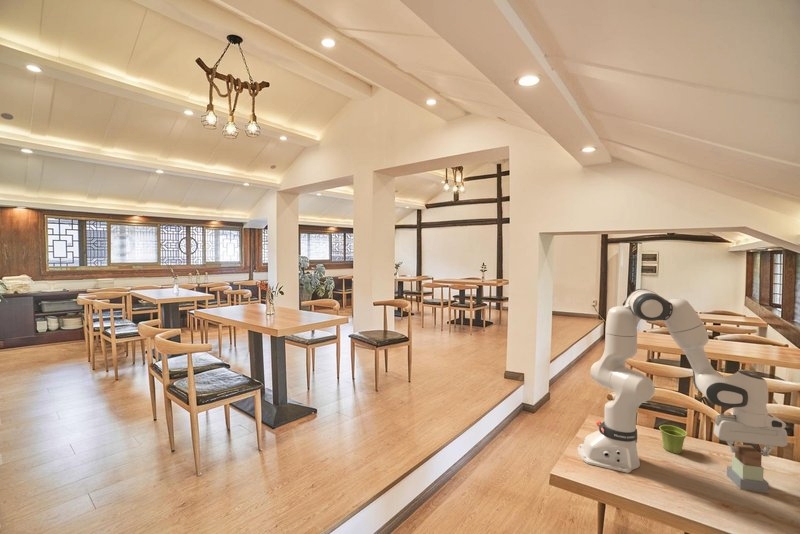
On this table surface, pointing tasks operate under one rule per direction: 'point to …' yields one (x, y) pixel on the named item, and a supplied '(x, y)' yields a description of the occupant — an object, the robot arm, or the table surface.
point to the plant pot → (672, 438)
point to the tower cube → (747, 470)
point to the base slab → (747, 482)
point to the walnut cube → (748, 455)
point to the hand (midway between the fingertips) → (748, 453)
